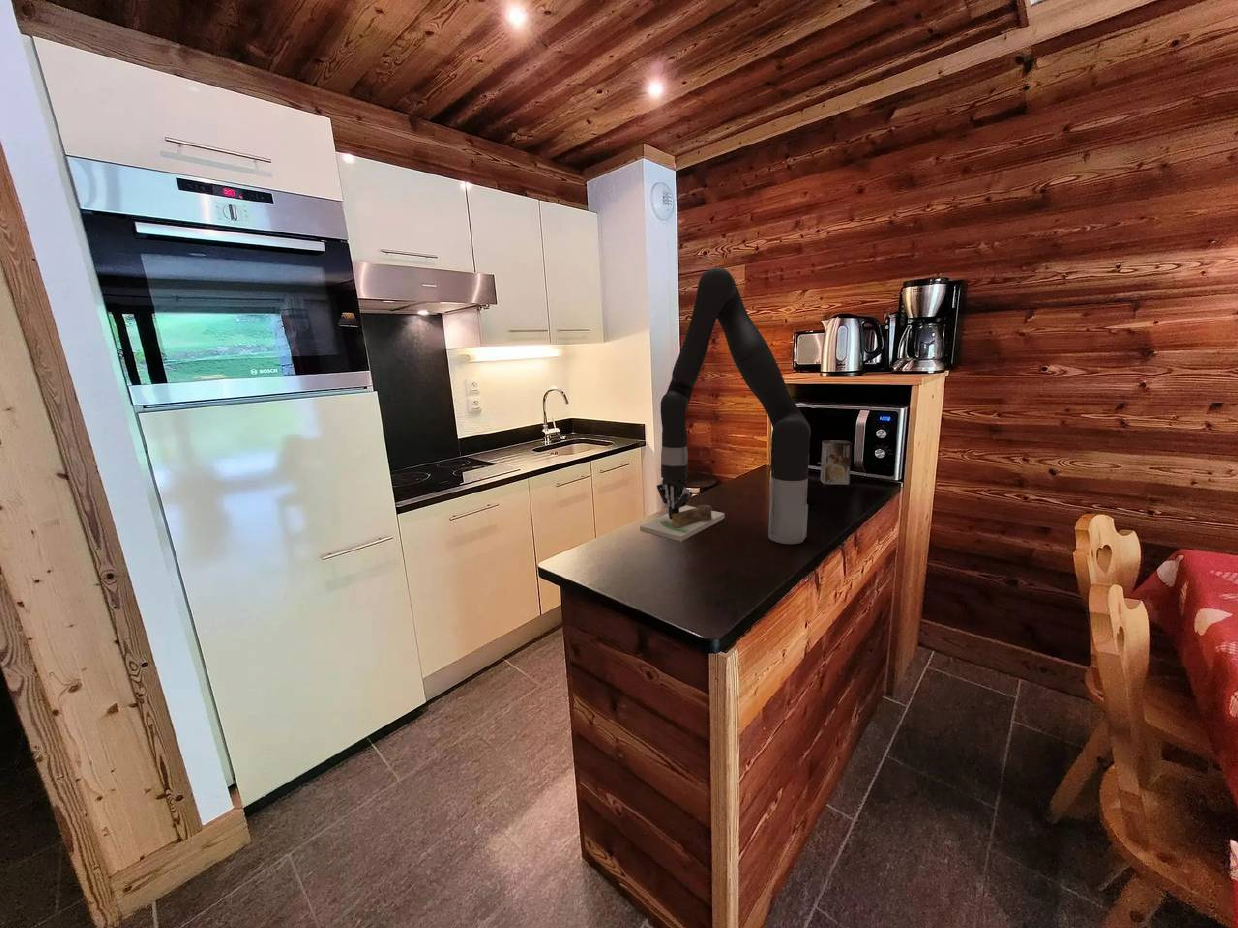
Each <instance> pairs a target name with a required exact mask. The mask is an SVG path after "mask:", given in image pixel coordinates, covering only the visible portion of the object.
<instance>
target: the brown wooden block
mask: <svg viewBox="0 0 1238 928" xmlns="http://www.w3.org/2000/svg"><path fill="white" fill-rule="evenodd" d="M712 509H713V508H712V506H711V505H708V504H699V505H696V508H694V509H690V510H686V511H683V512H679V513H674V514H672V526H675V527H680V526H683V525H686V524H690V523H693V522H696V521H700V520H710V519H711V511H712Z"/></svg>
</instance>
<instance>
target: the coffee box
mask: <svg viewBox="0 0 1238 928" xmlns="http://www.w3.org/2000/svg"><path fill="white" fill-rule="evenodd" d="M852 449H853V443H852V442H851V441H849V440H846V439H845V440H844V439H840V440H837V439H836V440H835V439H834V440H831V439H830V440H829V439H826V440H825V439H823V440H822V449H821V465H820V466H821V467H820V481H821V482H822V483H823V485H847V486H849V485H850V483H851V482H850V481H851V467H852V466H851V463H852Z"/></svg>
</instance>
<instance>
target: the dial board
mask: <svg viewBox="0 0 1238 928" xmlns="http://www.w3.org/2000/svg"><path fill="white" fill-rule="evenodd" d="M696 507H697V506H696ZM696 507H695V506H691V505H686V504H685V506H683V507H679V512H683V511H686V510H690V509H694V508H696ZM724 519H725V513H724V512H721V511H720V512H718V511H715V510H711V519H710V520H700V521H696V522H693V523H690V524H686V525H683V526H680V527H675V526H672V520H671V519H669V512H668V513H666V514H663V515H661V516H659V517H657V518H654V519H652V520H650V521H648V522H645V523H643V524H640V527H639V530H640V532H644V533H647V534H651V535H655V536H658V537H663V538H666V539H669V540H673V541H676V542H683V541H685V540H687V539H688V538H691V537H692V536H694V535H696V534H698V533H700V532H701V531H703V530H705V529H707V528H709V527H711V526H712V525H715V524H717V523H718V522H720V521H722V520H724Z"/></svg>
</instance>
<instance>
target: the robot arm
mask: <svg viewBox="0 0 1238 928" xmlns="http://www.w3.org/2000/svg"><path fill="white" fill-rule="evenodd" d="M696 289H697V290H696V295H695V301H694V305H693V310H692V314H691V317H690V321H689V325H688V327H687V330H686V333H685V337H684V339H683V342H682V344H681V347H680V349H679V353H678V355H677V358H676V362H675V364H674V367H673V369H672V374H671V377H672V378H671V379H670V380H671V381H670V383H669V385H668V388H667V391H666V393H665V394H664V395H663V396H662V398H661V401H660V420H661V421H660V422H661V427H662V428H661V430H662V431H661V450H660V477H661V478H662V480H661V483H660V484H658V485H656V489H657V491H658V494H659V496H660V497H661V500H662V502H663V503H664V504H666V505H667V507H668V513H669V519H671V520H672V514H674V513H679V508H681V507H683V506H686V504H687V503H688V502H689V500H690V499H691V497H692V496H693V492H692V491H689V490H688V489H687V483H686V479H687V478H688V465H689V464H688V453H689V452H688V447H687V446H688V431H687V427H686V421H687V420H686V418H687V416H686V415H687V409H688V406H689V403H690V401H691V398H692V393H693V390H694V389H695V388H694V387H695V385H696V382H697V380H698V378H699V376H700V373H701V370H702V368H703V366H704V363H705V360H706V357H707V352H708V349H709V343H710V339H711V336H712V332H713V329H714V326H715V323H716V321H717V322H718V323H719V325H720V327H721V329H722V331H723V333H724V336H725V339H726V343H727V347H728V349H729V351H730V352H729V353H730V355H731V357H732V360H733V361H734V362H733V363H734V364H735V366H736V368H737V370H738V371H739V372H738V373H739V374H740V376H741V378H742V380H743V381H744V382H745V385H747V387H748V388H749V390H750V391H751V392H752V394H753V395H754V396H755V397H756V398H757V400H758V401H759V403H760V404H761V405H762V407H763V408H764V410H765V412H766V415H767V417H768V419H769V422H770V424H771V427H772V429H771V430H772V431H771V434H770V435H771V436H770V459H769V461H770V484H769V485H770V488H769V489H770V490H769V506H768V507H769V511H768V512H769V513H768V530H767V531H768V532H767V538H768V539H769V540H770V541H772V542H775V543H777V544H778V543H779V544H782V545H797V544H798V545H799V544H802V543H803V542H804V540H805V539H806V538H807V528H808V514H809V513H808V512H809V504H808V503H807V499H808V498H807V497H808V480H809V466H808V462H809V463H810V443H811V442H810V441H811V435H812V430H811V426H810V423H809V422H808V420H807V419H806V417H805V416H804V415H803V413H802V412H801V410H800V408H799V407H798V406H797V404H796V403H795V401H794V399H793V397H792V396H791V394H790V392H789V390H788V387H787V385H786V381H785V380H784V376H783V374H782V371H781V369H780V367H779V365H778V363H777V361H776V359H775V356H774V354H773V352H772V351H771V349H770V347H769V344H768V343H767V342H766V340H765V337H764V336H763V335H762V333H761V332H760V331H759V329H758V327H757V326H756V324H755V323H754V322H753V321H752V319H751V318H750V315H749V314H748V312H747V310H746V307H745V305H744V303H743V299H742V298H741V295H740V292H739V289H738V286H737V283H736V280H735V279H734V277H733V275H732V274H731V272H729V270H728V269H726V268H724V267H719V266H718V267H717V266H716V267H711V268H709V269H707V270H706V271H705V272H704V273H703V274H702V275H701V277H700V279H699V281H698V285H697V288H696Z"/></svg>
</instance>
